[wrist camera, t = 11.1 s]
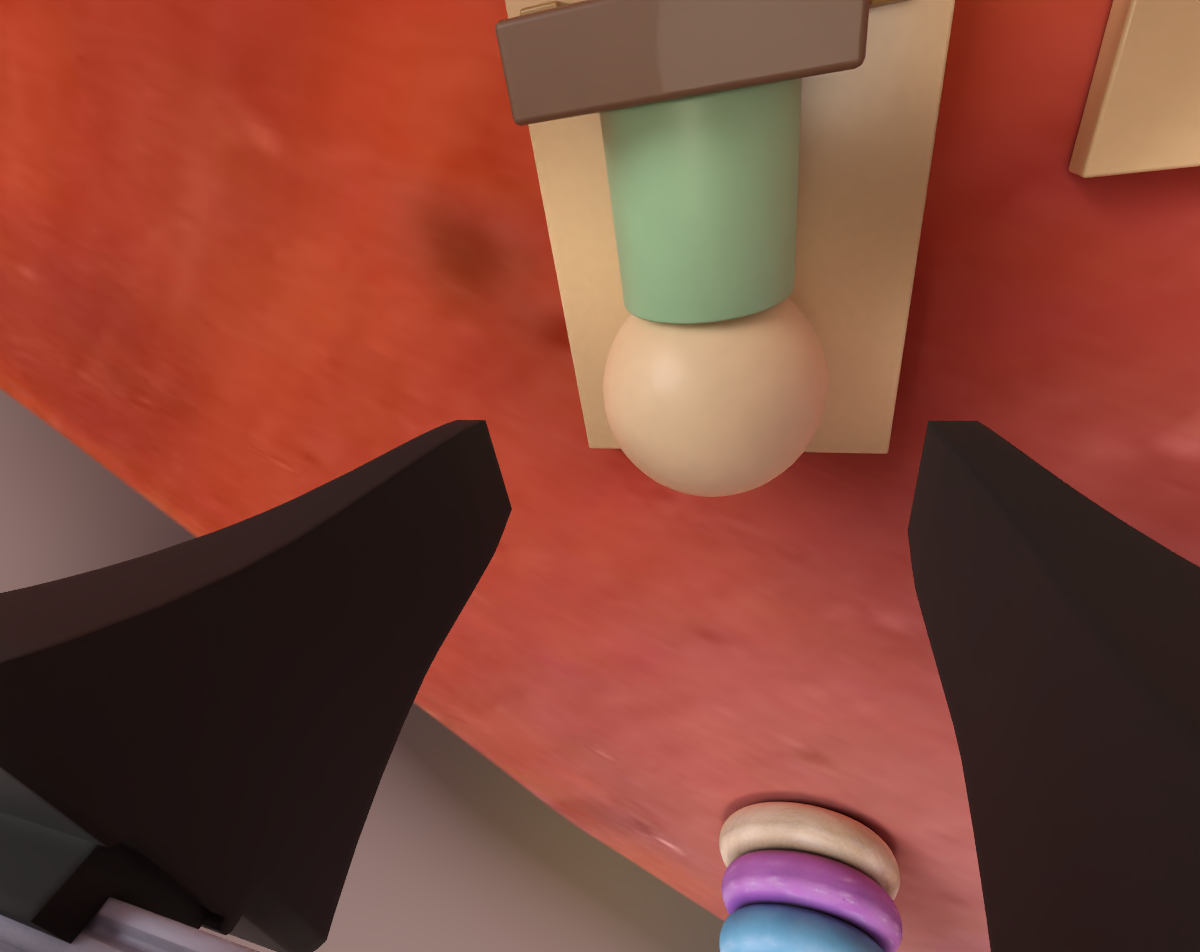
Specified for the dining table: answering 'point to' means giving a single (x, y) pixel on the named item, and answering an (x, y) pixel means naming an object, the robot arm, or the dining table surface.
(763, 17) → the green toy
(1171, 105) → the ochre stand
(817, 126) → the thin cream rectangular board
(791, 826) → the stacking toy
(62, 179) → the dining table surface
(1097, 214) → the dining table surface
